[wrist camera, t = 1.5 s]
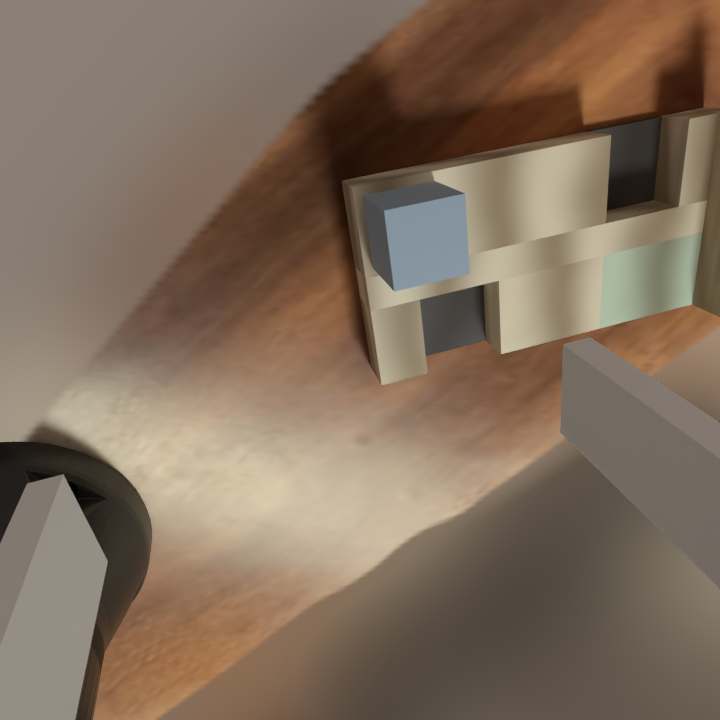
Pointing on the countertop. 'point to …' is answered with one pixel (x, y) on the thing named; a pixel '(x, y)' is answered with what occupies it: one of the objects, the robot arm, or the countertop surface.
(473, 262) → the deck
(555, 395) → the countertop surface
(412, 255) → the cube
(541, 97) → the countertop surface
